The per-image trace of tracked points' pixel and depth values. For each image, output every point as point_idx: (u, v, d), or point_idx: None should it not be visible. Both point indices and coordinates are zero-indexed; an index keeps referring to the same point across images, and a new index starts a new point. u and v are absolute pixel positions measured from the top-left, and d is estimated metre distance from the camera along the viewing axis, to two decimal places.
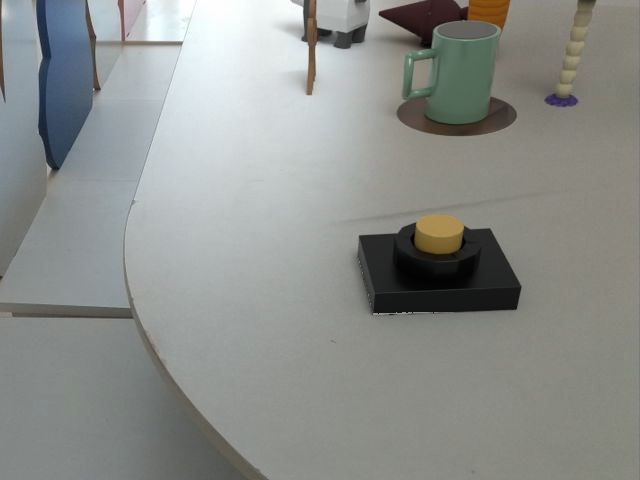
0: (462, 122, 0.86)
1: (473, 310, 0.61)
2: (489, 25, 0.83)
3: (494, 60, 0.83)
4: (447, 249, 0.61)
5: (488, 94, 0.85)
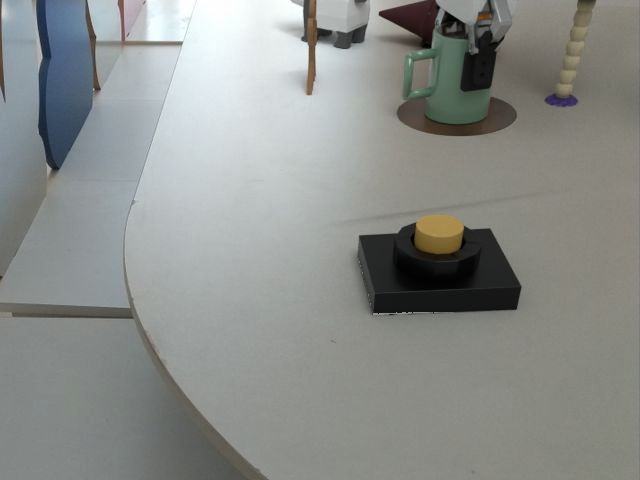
0: (462, 122, 0.86)
1: (473, 310, 0.61)
2: None
3: None
4: (447, 249, 0.61)
5: (488, 94, 0.85)
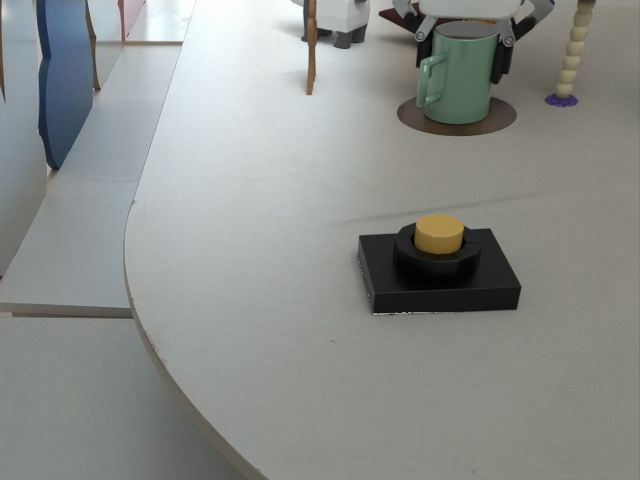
0: (476, 120, 0.86)
1: (473, 310, 0.61)
2: (480, 23, 0.84)
3: None
4: (447, 249, 0.61)
5: (491, 89, 0.86)
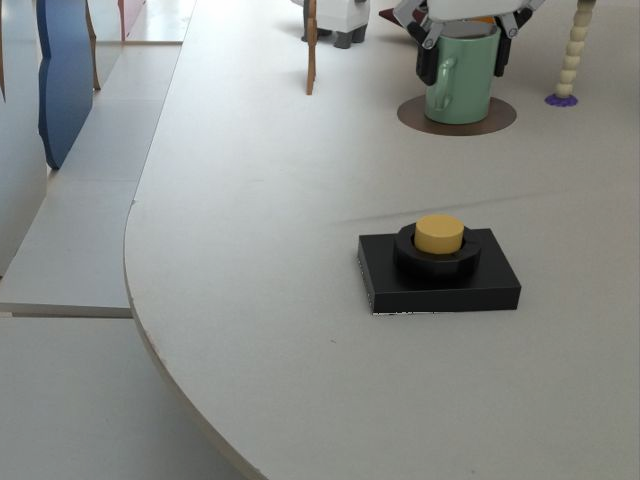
0: (483, 117, 0.86)
1: (473, 310, 0.61)
2: (471, 22, 0.85)
3: None
4: (447, 249, 0.61)
5: None
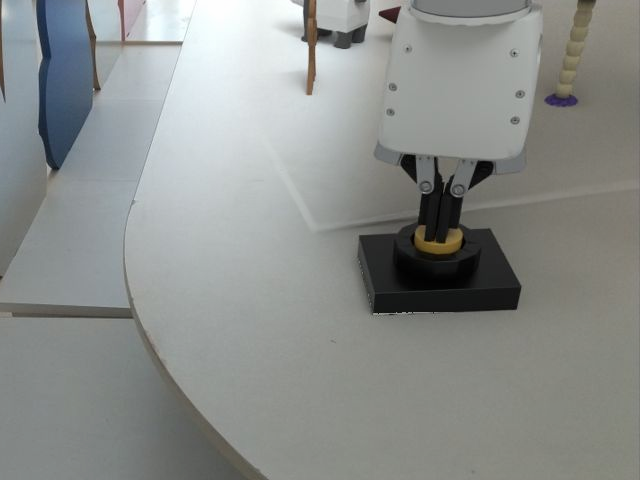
0: None
1: (473, 310, 0.61)
2: None
3: None
4: None
5: None
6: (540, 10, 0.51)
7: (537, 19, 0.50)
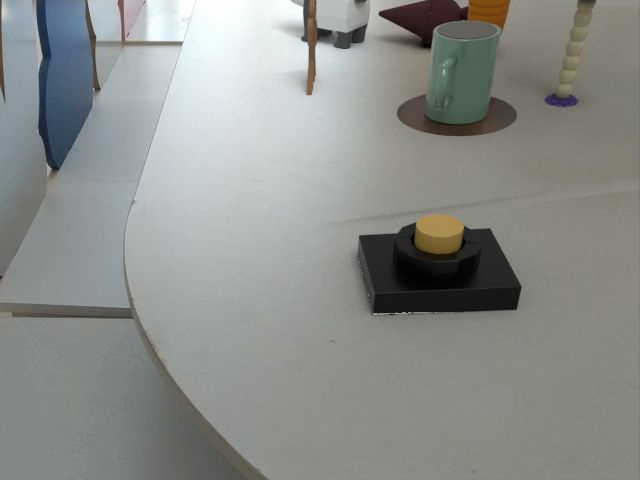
0: (483, 117, 0.86)
1: (473, 310, 0.61)
2: (472, 22, 0.85)
3: None
4: (447, 249, 0.61)
5: None
6: None
7: None
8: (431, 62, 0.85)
